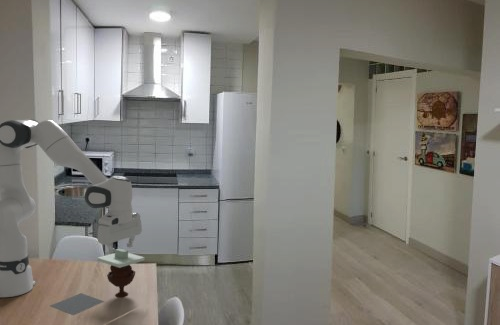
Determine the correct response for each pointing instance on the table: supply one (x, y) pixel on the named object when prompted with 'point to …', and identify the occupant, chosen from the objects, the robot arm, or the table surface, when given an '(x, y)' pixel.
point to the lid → (120, 258)
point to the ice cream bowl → (121, 278)
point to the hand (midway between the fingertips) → (120, 249)
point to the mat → (77, 304)
